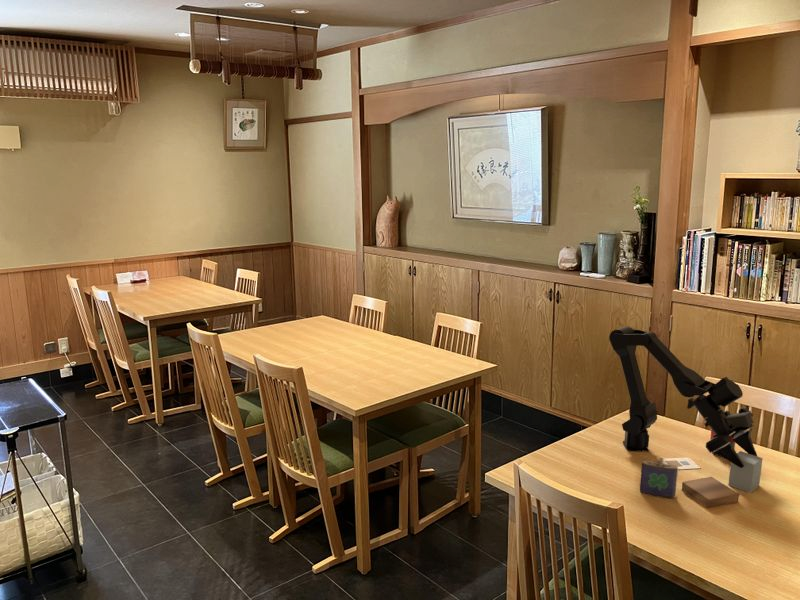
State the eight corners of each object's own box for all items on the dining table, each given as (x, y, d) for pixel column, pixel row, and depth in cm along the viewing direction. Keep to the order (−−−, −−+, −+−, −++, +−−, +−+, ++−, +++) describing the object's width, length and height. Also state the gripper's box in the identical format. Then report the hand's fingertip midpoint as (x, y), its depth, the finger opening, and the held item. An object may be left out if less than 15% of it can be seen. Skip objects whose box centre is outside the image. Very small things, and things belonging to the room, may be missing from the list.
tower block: (728, 484, 185) (731, 457, 183) (737, 478, 189) (740, 451, 187) (750, 492, 180) (754, 464, 179) (759, 485, 184) (762, 458, 182)
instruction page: (668, 470, 194) (668, 469, 193) (657, 459, 200) (657, 458, 200) (700, 468, 194) (700, 467, 194) (688, 458, 201) (688, 457, 201)
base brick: (681, 491, 182) (682, 481, 181) (710, 486, 185) (711, 476, 184) (707, 509, 173) (709, 499, 172) (738, 503, 176) (739, 493, 175)
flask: (675, 495, 179) (678, 459, 177) (675, 500, 177) (678, 463, 174) (639, 489, 183) (642, 453, 180) (639, 494, 180) (642, 458, 178)
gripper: (721, 409, 177) (760, 460, 171) (748, 392, 189) (786, 440, 183) (690, 427, 184) (726, 477, 178) (718, 410, 196) (753, 456, 191)
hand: (749, 462), depth 182 cm, fingers open, 9 cm apart
